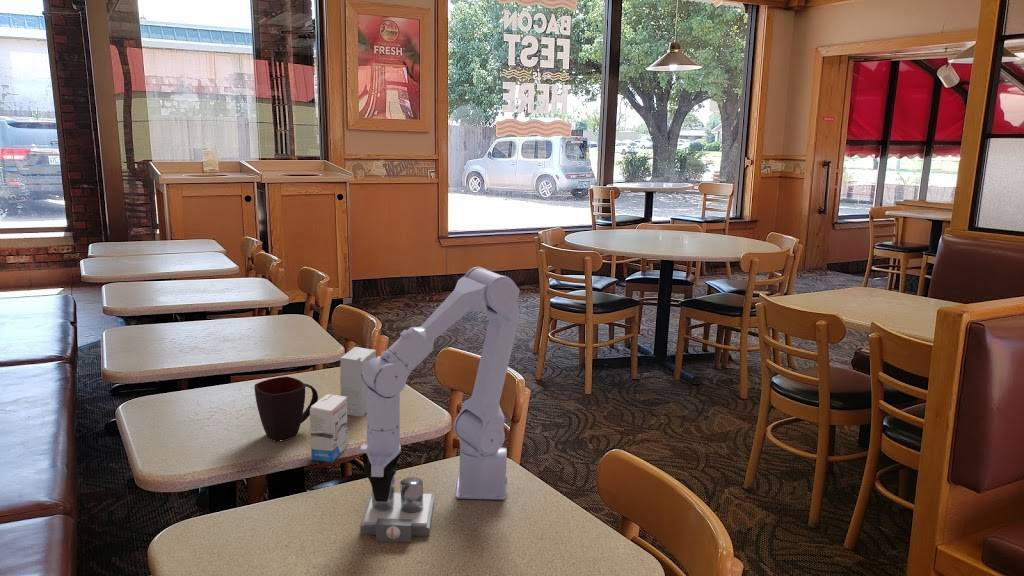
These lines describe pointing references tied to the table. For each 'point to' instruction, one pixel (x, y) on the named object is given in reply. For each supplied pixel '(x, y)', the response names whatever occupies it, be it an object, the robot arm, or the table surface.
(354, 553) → the table surface
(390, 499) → the cylinder
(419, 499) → the cylinder
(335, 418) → the ink box
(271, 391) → the cup
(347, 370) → the skincare box
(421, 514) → the scale
